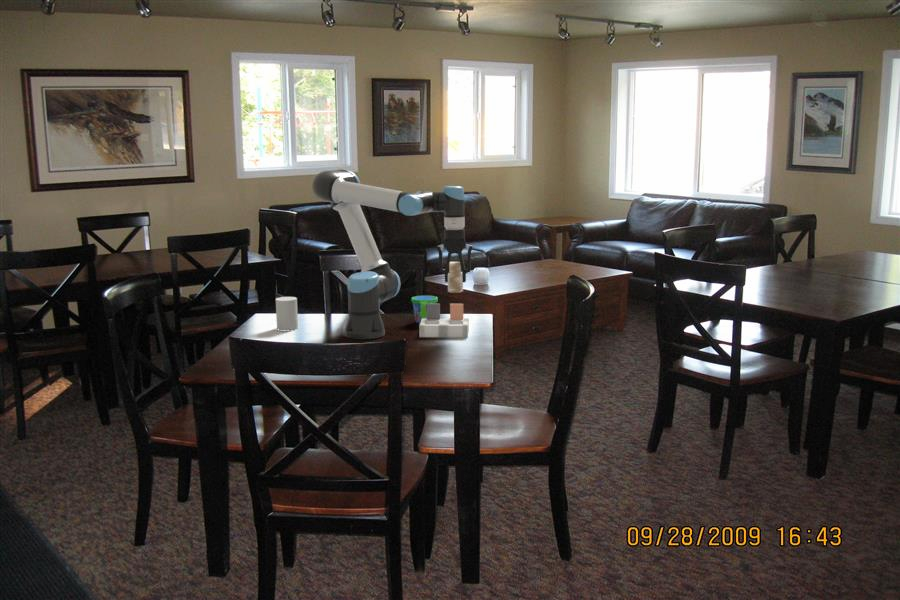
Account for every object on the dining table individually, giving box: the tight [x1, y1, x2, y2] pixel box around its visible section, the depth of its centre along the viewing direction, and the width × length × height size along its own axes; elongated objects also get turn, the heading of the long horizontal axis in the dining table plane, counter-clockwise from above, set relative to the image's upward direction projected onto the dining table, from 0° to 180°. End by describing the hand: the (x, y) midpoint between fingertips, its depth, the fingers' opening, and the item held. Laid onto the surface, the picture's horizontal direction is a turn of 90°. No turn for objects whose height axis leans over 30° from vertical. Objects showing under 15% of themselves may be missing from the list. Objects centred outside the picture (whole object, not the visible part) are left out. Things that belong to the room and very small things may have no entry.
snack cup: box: [411, 295, 439, 324], centre depth 338 cm, size 16×10×10 cm
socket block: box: [418, 303, 470, 338], centre depth 319 cm, size 18×12×10 cm, turn 87°
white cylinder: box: [275, 296, 299, 331], centre depth 329 cm, size 8×8×12 cm
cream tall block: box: [448, 261, 462, 294], centre depth 313 cm, size 4×4×11 cm
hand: (455, 290), depth 314 cm, fingers closed on cream tall block, 4 cm apart
